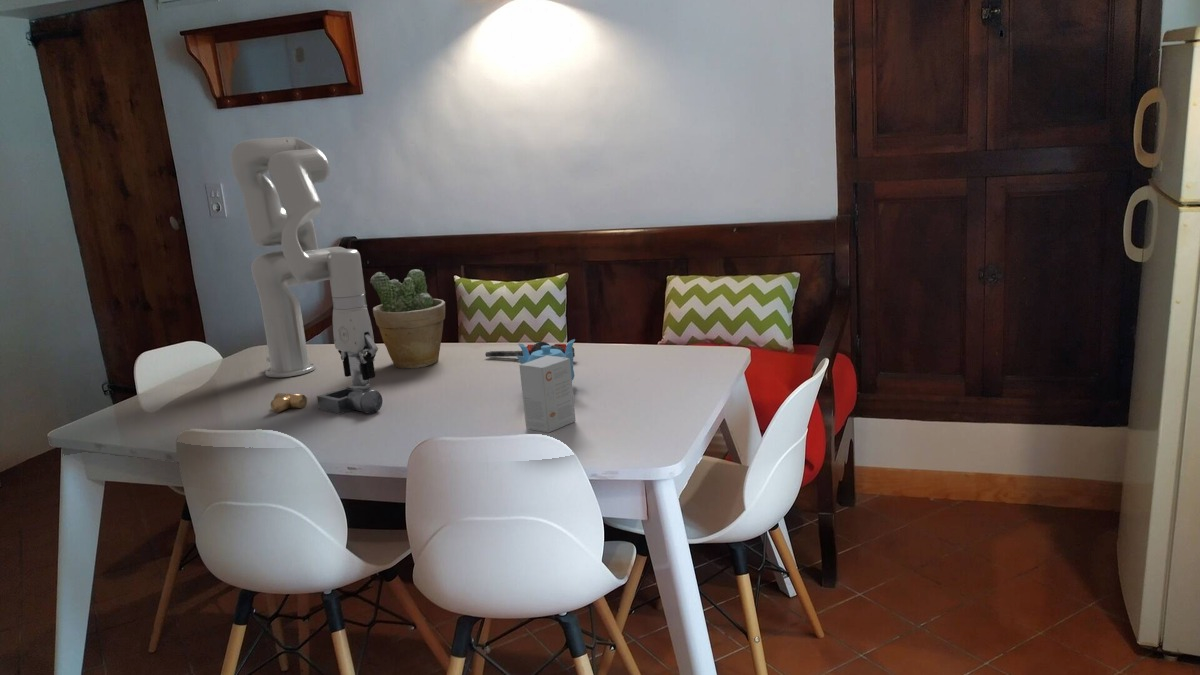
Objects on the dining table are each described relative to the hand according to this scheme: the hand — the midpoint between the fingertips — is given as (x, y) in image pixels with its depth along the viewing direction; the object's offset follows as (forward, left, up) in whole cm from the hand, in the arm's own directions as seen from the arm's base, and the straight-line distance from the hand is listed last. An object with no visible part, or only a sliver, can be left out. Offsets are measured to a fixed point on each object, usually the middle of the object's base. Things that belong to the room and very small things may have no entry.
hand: (359, 376), depth 221 cm
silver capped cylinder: (0, 0, -3) cm, 3 cm away
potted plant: (-8, +23, -3) cm, 25 cm away
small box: (+61, +1, -3) cm, 61 cm away
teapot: (+43, +20, -3) cm, 48 cm away
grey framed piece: (+12, -11, -3) cm, 17 cm away
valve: (+18, +40, -4) cm, 45 cm away
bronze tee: (-3, -18, -3) cm, 19 cm away
